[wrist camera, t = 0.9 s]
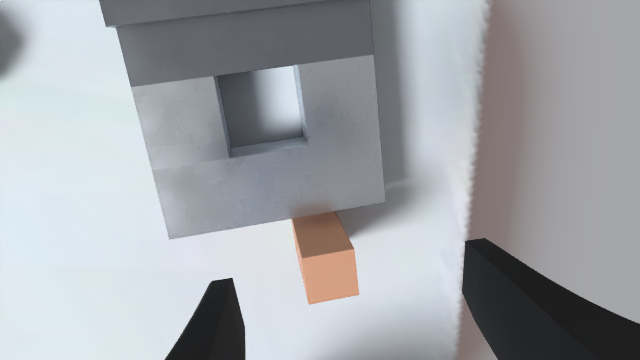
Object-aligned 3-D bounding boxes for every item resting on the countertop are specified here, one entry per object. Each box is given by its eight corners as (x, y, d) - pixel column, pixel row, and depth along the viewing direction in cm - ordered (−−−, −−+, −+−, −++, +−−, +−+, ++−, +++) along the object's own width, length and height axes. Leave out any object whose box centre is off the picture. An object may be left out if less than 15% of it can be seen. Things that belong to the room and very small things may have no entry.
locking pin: (336, 243, 28) (359, 294, 22) (296, 251, 28) (308, 304, 22) (332, 206, 27) (354, 249, 22) (290, 213, 27) (301, 258, 21)
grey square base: (373, 188, 27) (393, 211, 23) (176, 221, 26) (164, 252, 22) (355, -22, 23) (375, -35, 20) (124, 4, 22) (98, -4, 18)
